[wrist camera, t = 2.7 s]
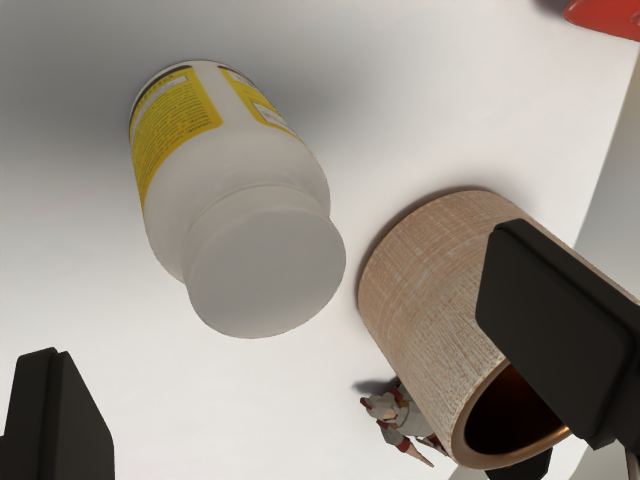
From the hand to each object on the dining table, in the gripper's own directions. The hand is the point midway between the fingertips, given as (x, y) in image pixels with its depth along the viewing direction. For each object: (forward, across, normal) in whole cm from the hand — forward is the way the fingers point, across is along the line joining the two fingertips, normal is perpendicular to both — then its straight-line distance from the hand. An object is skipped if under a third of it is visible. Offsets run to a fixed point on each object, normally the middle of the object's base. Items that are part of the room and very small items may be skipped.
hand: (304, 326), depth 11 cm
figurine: (+8, -18, +28) cm, 34 cm away
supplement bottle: (+12, 0, 0) cm, 12 cm away
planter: (+12, -11, +11) cm, 20 cm away
